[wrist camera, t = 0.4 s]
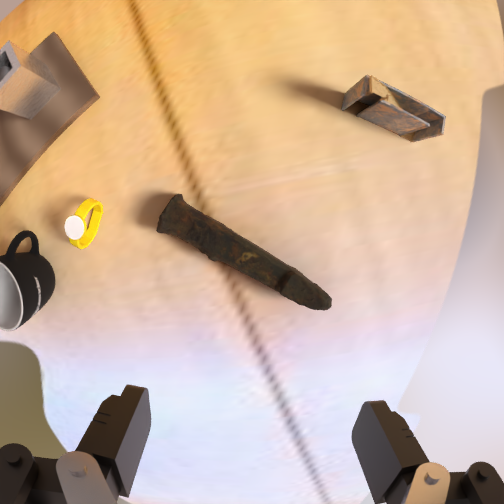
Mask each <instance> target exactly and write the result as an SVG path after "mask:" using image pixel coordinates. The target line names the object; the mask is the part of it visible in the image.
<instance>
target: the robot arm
mask: <svg viewBox="0 0 504 504" xmlns="http://www.w3.org/2000/svg"><path fill="white" fill-rule="evenodd" d="M150 427H151V412H150V403H149V393H148V389H147V388H144V387H138V386H133V385H126V387H125V388H124V390H123V392H122V394H121V396H117V395H111V396H110V397H108V398H107V399H106V400H104V401H103V402H102V404H101V405H100V407H99V409H98V411H97V413H96V414H95V416H94V418H93V421H91V423H90V425H89V427H88V428H87V430H86V432H85V434H84V436H83V438H82V439H81V441H80V443H79V445H78V447H77V448H76V450H75V451H72V452H68V453H65V454H64V455H62V456H61V457H60V458H59V459H49V458H41V457H33V456H32V454H31V452H30V451H29V450H28V449H27V448H26V447H25V446H23V445H20V444H14V443H12V444H7V445H5V446H3V447H2V448H1V449H0V504H117V499H118V497H119V495H120V496H124V497H129V494H130V491H131V488H132V484H133V481H134V478H135V475H136V472H137V469H138V465H139V462H140V459H141V456H142V453H143V450H144V447H145V444H146V441H147V438H148V435H149V432H150ZM352 443H353V446H354V448H355V451H356V454H357V456H358V459H359V462H360V464H361V467H362V470H363V472H364V475H365V478H366V481H367V483H368V486H369V489H370V491H371V494H372V497H373V500H374V502H375V504H380V503H385V502H386V503H387V504H504V483H503V481H502V479H501V478H500V476H499V475H498V473H497V472H496V470H495V468H494V467H493V466H491V465H490V464H488V463H486V462H476V463H474V464H472V465H471V466H470V468H469V469H468V470H467V471H466V472H448V470H447V469H446V468H445V467H444V466H442V465H440V464H437V463H432V462H429V460H428V458H427V457H426V455H425V453H424V451H423V450H422V448H421V446H420V444H419V443H418V441H417V439H416V438H415V437H414V435H413V433H412V431H411V430H410V429H409V426H408V424H407V423H406V421H405V419H404V418H403V417H401V416H400V415H399V414H398V413H396V412H395V411H394V412H391V410H390V408H389V407H388V405H387V403H386V402H385V401H384V400H380V401H367V402H364V404H363V405H362V408H361V410H360V413H359V415H358V418H357V420H356V422H355V425H354V427H353V430H352Z"/></svg>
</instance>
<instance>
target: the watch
mask: <svg viewBox="0 0 504 504" xmlns="http://www.w3.org/2000/svg"><path fill="white" fill-rule="evenodd" d="M92 208H93V209H94V210H93V213H92V216H91V220H90V223H89V227H88V229H87V226H86V222H85V220H84V219H85V218H86V216H87V214H88V212H89V211H90V210H91V209H92ZM102 214H103V205H102V204H101V203H100V202H99V201H97V200H94V199H92V198H90V199H87V200H85V201H84V202H83V203H82V204H81V205H80V206H79V208H78V209H77V211H76V213H75V214H74V215H71V216H70V217H68V218H67V220H66V222H65V232H66V234H67V236H68V237H69V241H70V243H71V244H72V245H73V246H75V247H77V248H79V249H84V248H86V247H87V246H88V245H89V244H90V243H91V242H92V241H93V239H94V237H95V235H96V234H97V230H98V227H99V223H100V220H101V217H102ZM86 229H87V231H86ZM80 238H81V239H80ZM79 239H80V240H79Z"/></svg>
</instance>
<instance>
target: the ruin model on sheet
mask: <svg viewBox="0 0 504 504" xmlns="http://www.w3.org/2000/svg"><path fill="white" fill-rule="evenodd" d="M356 101H360V102H362V103H364V104H367V105H369V107H368V108H366V109H364V110H363V111H361V112H360V113H358V114H357V117H360V118H363V119H365V120H367V121H370V122H372V123H374V124H377V125H379V126H381V127H383V128H385V129H388V130H390V131H392V132H394V133H396V134H398V135H399V136H400V137H403V138H405V139H407V140H409V141H411V142H416V141H420V140H424V139H428V138H432V137H436V136H440V135H443V133H444V126H445V118H446V116H444V115H443V114H441V113H440V112H438V111H436V110H435V109H433V108H431V107H429V106H428V105H426V104H424V103H422V102H421V101H419V100H417V99H415V98H413V97H411V96H410V95H408V94H406V93H404V92H402V91H400V90H398V89H396V88H394V87H392V86H390V85H388V84H386V83H384V82H382V81H380V80H378V79H376V78H375V77H374V76H369V75H366V76H365V77H363V78H362V79H361V80H360V81H359V82H358V83H356V84H355V85H354V86H353V87H352V88H351V89H349V90H348V91H347V92H346V93H345V96H344V100H343V104H342V108H341V110H342V111H344V110H345V109H346V108H348V107H349V106H351V105H352V104H353V103H355V102H356Z"/></svg>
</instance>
